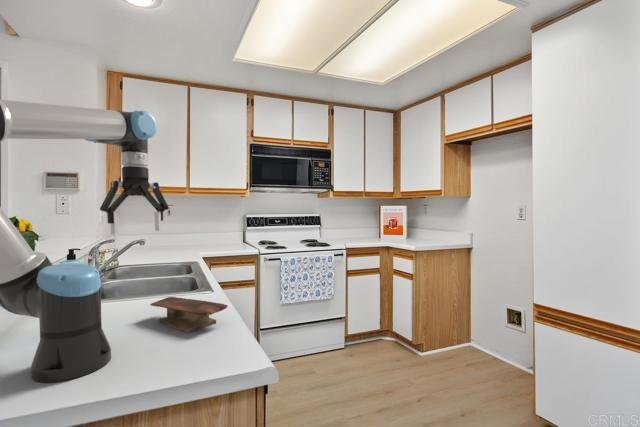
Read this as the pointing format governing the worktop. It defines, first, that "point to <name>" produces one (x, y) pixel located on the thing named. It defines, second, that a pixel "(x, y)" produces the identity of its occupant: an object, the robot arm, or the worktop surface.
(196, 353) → the worktop surface
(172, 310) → the walnut stand
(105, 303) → the worktop surface
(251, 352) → the worktop surface
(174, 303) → the wooden tablet
